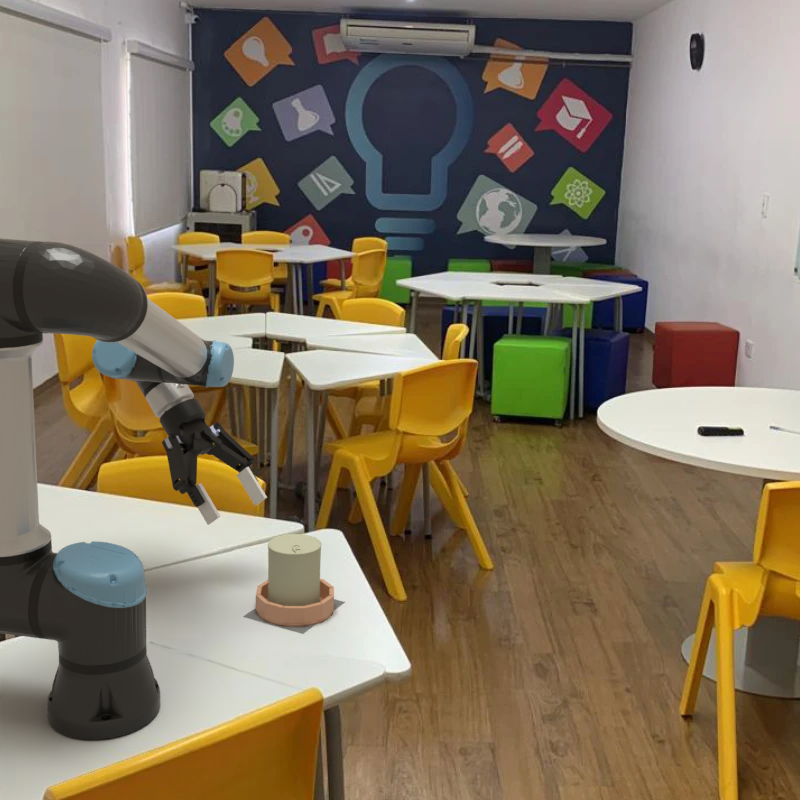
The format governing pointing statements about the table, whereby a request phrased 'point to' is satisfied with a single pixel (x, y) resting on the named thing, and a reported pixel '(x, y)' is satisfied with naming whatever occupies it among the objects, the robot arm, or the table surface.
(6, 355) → the robot arm
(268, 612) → the bowl
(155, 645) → the table surface
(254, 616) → the mat
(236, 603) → the table surface
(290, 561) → the can
